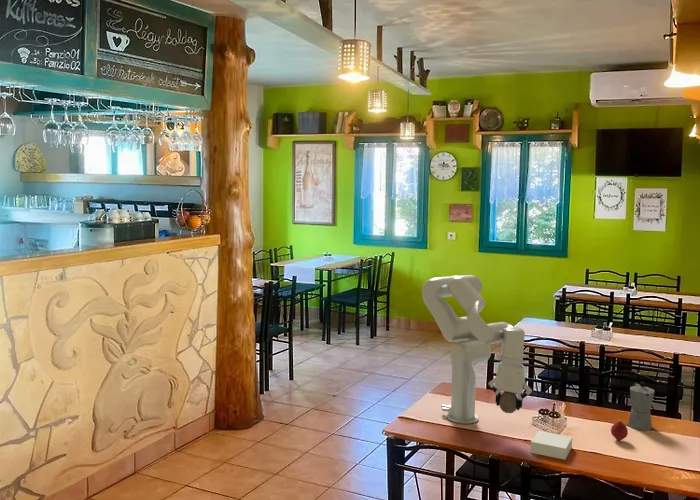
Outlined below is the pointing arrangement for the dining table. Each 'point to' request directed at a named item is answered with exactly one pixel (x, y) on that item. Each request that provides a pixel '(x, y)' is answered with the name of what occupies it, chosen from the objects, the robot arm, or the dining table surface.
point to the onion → (619, 430)
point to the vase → (508, 402)
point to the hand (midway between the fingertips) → (508, 406)
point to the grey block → (551, 445)
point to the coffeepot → (641, 407)
